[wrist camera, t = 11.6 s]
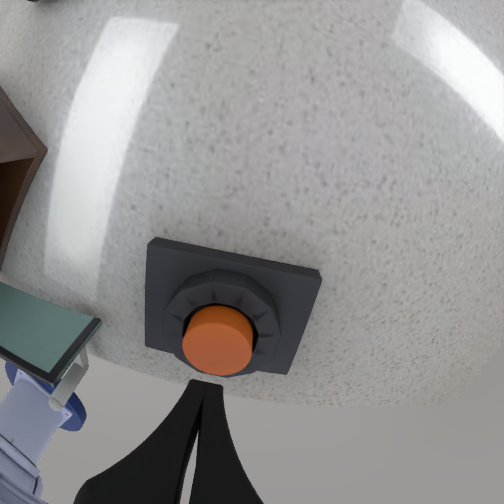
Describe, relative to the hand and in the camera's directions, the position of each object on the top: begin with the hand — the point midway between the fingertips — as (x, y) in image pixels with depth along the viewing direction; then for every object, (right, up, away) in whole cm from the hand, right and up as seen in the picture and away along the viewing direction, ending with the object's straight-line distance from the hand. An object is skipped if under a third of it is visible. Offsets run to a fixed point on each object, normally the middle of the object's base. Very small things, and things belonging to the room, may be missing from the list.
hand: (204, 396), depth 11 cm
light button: (0, +2, +4) cm, 5 cm away
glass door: (-15, 0, +7) cm, 17 cm away
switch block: (0, +3, +7) cm, 7 cm away
